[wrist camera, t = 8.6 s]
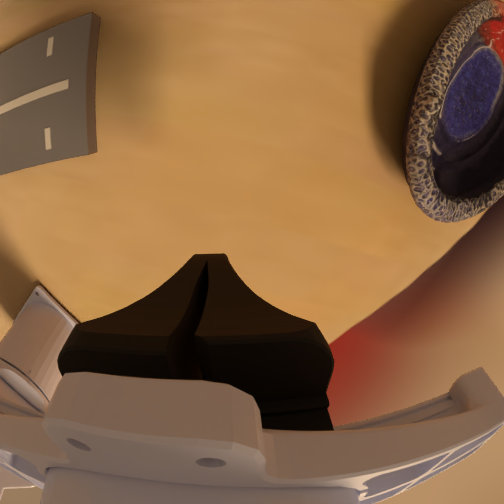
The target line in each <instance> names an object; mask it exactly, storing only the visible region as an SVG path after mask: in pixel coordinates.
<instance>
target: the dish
mask: <svg viewBox="0 0 504 504" xmlns="http://www.w3.org/2000/svg"><path fill="white" fill-rule="evenodd" d="M402 158H403V169H404V173H405V177H406V181H407V183H408V185H409V188H410V192H411V195H412V197H413V199H414V201H415V203H416V205H417V206H418V207H419V208H420V209H421V210H422V211H423V212H424V214H426V215H427V216H429V217H431V218H432V219H434V220H436V221H440V222H446V223H449V222H458V221H461V220H465V219H468V218H471V217H473V216H475V215H477V214H479V213H481V212H482V211H484V210H486V209H487V208H488V207H490V206H491V205H492V204H494V203H495V202H496V201H497V200H498V199H499V198H500V197H502V196H503V195H504V2H502V1H500V0H475V1H473V2H471V3H469V4H468V5H466V6H465V7H464V8H462V9H461V10H460V11H459V12H458V13H457V14H456V15H455V16H454V17H453V18H452V19H451V21H450V22H449V23H448V25H447V26H446V27H445V28H444V29H443V31H442V32H441V33H440V35H439V36H438V37H437V39H436V41H435V42H434V44H433V46H432V47H431V49H430V51H429V53H428V55H427V57H426V59H425V61H424V63H423V65H422V67H421V70H420V72H419V75H418V77H417V79H416V82H415V85H414V88H413V91H412V94H411V97H410V101H409V106H408V110H407V113H406V119H405V125H404V132H403V144H402Z"/></svg>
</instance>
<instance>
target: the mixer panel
mask: <svg viewBox="0 0 504 504" xmlns="http://www.w3.org/2000/svg"><path fill="white" fill-rule="evenodd" d="M99 26H100V17H98V16H97V15H96V14H94V13H93V12H92V13H89V14H86V15H83V16H80V17H77V18H75V19H72V20H69V21H67V22H64V23H62V24H59V25H57V26H54V27H52V28H50V29H47V30H45V31H43V32H41V33H39V34H37V35H34V36H32V37H30V38H28V39H26V40H24V41H23V42H21V43H19V44H17V45H15V46H13V47H11V48H10V49H8V50H6V51H5V52H3V53H1V54H0V175H3V174H7V173H10V172H14V171H17V170H21V169H25V168H29V167H33V166H37V165H41V164H45V163H49V162H54V161H59V160H63V159H68V158H74V157H79V156H84V155H89V154H93V153H96V152H97V140H96V117H95V80H96V58H97V45H98V34H99Z"/></svg>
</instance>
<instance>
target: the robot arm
mask: <svg viewBox="0 0 504 504" xmlns="http://www.w3.org/2000/svg"><path fill="white" fill-rule="evenodd" d="M333 368H334V359H333V356H332V352H331V350H330V347H329V345H328V343H327V341H326V340H325V338H324V336H323V334H322V333H321V331H320V330H319V328H318V327H317V325H316V324H315V323H314V322H311V321H308V320H305V319H302V318H299V317H296V316H293V315H291V314H288V313H286V312H284V311H282V310H280V309H278V308H276V307H274V306H272V305H271V304H269V303H268V302H266V301H265V300H263V299H262V298H260V297H259V296H257V295H256V294H255V293H254V292H253V291H252V290H251V289H250V288H249V287H248V286H247V285H246V284H245V283H244V282H243V281H242V280H241V278H240V277H239V276H238V275H237V273H236V272H235V270H234V269H233V267H232V266H231V264H230V262H229V260H228V257H227V255H226V254H195V255H193V256H192V257H191V258H190V259H189V260H188V261H187V262H186V264H185V265H184V266H183V267H182V268H181V269H180V270H179V271H178V272H176V273H175V274H174V275H173V276H172V277H171V278H170V279H168V280H167V281H166V282H165V283H164V284H163V285H161V286H160V287H159V288H157V289H156V290H155V291H153V292H152V293H150V294H149V295H147V296H145V297H144V298H142V299H140V300H138V301H137V302H135V303H133V304H131V305H129V306H127V307H125V308H123V309H121V310H118V311H116V312H114V313H111V314H108V315H106V316H103V317H100V318H97V319H93V320H90V321H86V322H83V323H78V322H77V321H76V320H75V319H74V318H73V317H72V316H71V315H70V314H69V313H68V312H66V311H65V310H64V309H63V308H62V307H61V306H60V305H59V304H58V303H57V302H56V301H55V300H54V299H53V298H52V297H51V296H50V295H49V293H48V292H47V291H46V290H45V289H44V288H43V287H42V286H40V285H37V286H36V288H35V289H34V291H33V292H32V294H31V295H30V297H29V298H28V300H27V301H26V303H25V304H24V306H23V307H22V309H21V311H20V312H19V314H18V316H17V317H16V319H15V321H14V322H13V325H12V327H11V328H10V329H9V331H8V332H7V333H6V335H5V336H4V338H3V339H2V340H1V342H0V500H1V497H2V493H3V491H4V489H7V488H30V487H35V486H37V487H39V488H40V489H43V492H42V496H41V501H40V504H375V503H377V502H380V501H383V500H385V499H387V498H390V497H392V496H395V495H397V494H399V493H401V492H404V491H406V490H408V489H410V488H412V487H414V486H416V485H418V484H420V483H422V482H424V481H426V480H428V479H430V478H432V477H434V476H436V475H437V474H439V473H441V472H443V471H445V470H446V469H448V468H450V467H452V466H453V465H455V464H456V463H458V462H460V461H461V460H463V459H465V458H466V457H468V456H470V455H471V454H473V453H474V452H476V451H477V449H479V448H480V447H481V446H482V445H483V444H485V443H486V442H487V441H488V440H489V439H490V438H491V437H492V436H493V435H494V434H495V433H496V432H497V431H498V430H499V429H500V428H501V427H502V426H503V425H504V397H503V396H502V394H501V393H500V391H499V390H498V388H497V387H496V386H495V384H494V383H493V381H492V380H491V379H490V377H489V376H488V374H487V373H486V372H485V370H484V369H483V368H482V367H479V368H477V369H475V370H472V371H470V372H468V373H465V374H463V375H462V376H460V377H459V378H458V379H457V380H456V381H455V382H454V383H453V385H452V386H451V388H450V390H449V392H448V393H445V394H443V395H440V396H438V397H435V398H433V399H430V400H428V401H425V402H422V403H419V404H416V405H414V406H411V407H408V408H405V409H401V410H398V411H395V412H392V413H389V414H385V415H381V416H378V417H374V418H370V419H366V420H362V421H358V422H354V423H349V424H345V425H340V426H335V427H333V425H332V422H331V419H330V416H329V413H328V409H327V408H328V407H329V400H328V397H327V394H326V391H327V388H328V385H329V382H330V379H331V376H332V373H333Z"/></svg>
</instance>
